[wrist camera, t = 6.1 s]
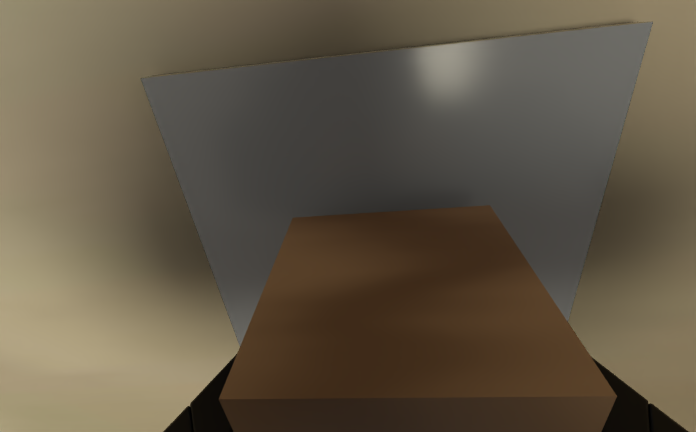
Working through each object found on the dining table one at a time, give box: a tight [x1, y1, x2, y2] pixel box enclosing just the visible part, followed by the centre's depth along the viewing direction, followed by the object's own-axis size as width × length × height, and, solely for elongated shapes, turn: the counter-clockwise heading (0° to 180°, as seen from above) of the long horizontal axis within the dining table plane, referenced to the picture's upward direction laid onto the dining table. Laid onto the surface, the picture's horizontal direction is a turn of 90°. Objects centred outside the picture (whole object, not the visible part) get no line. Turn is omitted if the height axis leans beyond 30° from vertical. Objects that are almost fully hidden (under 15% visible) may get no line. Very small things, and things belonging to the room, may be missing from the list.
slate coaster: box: [141, 22, 653, 346], centre depth 11 cm, size 12×12×1 cm
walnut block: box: [219, 205, 617, 432], centre depth 8 cm, size 5×5×5 cm
